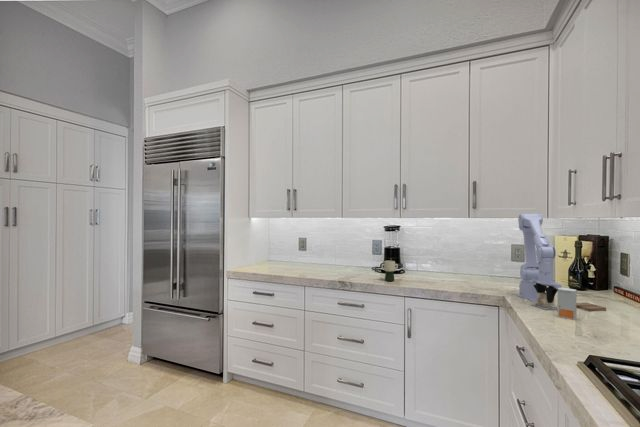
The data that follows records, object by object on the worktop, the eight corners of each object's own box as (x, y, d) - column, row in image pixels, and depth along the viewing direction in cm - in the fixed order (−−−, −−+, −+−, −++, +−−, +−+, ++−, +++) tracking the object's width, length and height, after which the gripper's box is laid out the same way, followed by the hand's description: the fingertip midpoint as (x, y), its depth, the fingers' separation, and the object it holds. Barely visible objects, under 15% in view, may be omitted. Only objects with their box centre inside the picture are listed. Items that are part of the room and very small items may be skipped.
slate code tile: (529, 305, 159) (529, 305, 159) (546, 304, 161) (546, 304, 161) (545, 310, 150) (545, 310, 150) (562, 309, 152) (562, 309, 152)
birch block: (537, 303, 157) (537, 292, 157) (546, 303, 158) (546, 292, 158) (544, 305, 153) (544, 294, 153) (554, 305, 154) (554, 294, 154)
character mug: (396, 279, 225) (396, 260, 225) (399, 281, 218) (399, 261, 218) (380, 279, 224) (380, 260, 225) (382, 282, 217) (382, 261, 217)
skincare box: (557, 317, 141) (556, 288, 141) (559, 315, 144) (559, 287, 144) (575, 320, 136) (574, 291, 136) (576, 318, 139) (576, 289, 139)
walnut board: (570, 306, 157) (570, 303, 157) (586, 305, 159) (586, 302, 159) (589, 311, 148) (589, 308, 148) (606, 310, 150) (606, 307, 150)
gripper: (526, 269, 162) (526, 297, 162) (551, 275, 148) (551, 305, 148) (538, 269, 163) (538, 297, 163) (565, 274, 149) (565, 305, 149)
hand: (545, 301), depth 156 cm, fingers closed on birch block, 4 cm apart
